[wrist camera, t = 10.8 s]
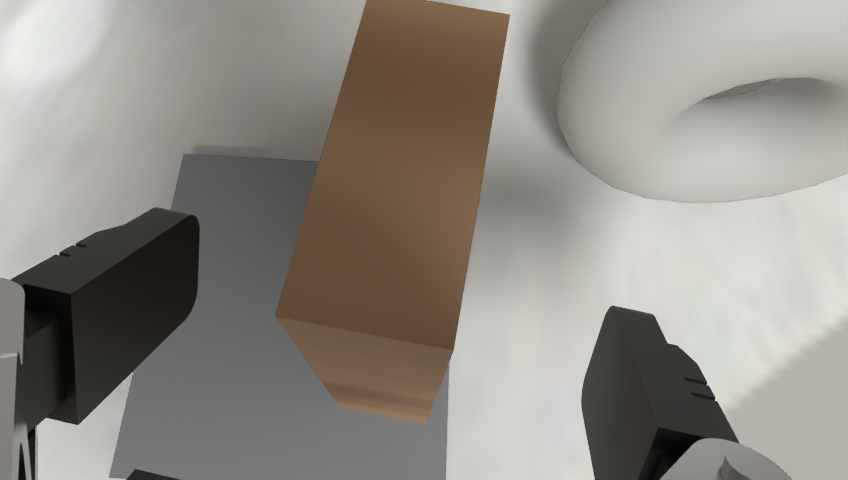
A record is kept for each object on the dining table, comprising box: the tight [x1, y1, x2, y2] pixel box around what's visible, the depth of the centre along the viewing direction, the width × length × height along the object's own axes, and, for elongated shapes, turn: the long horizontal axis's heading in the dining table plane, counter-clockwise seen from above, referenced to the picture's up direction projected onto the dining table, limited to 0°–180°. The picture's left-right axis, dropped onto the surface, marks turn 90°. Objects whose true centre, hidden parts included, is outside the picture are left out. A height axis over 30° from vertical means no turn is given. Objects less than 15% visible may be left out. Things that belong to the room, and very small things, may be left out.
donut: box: [556, 0, 848, 203], centre depth 16 cm, size 10×3×10 cm, turn 88°
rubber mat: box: [109, 154, 449, 480], centre depth 18 cm, size 9×10×1 cm
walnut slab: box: [275, 0, 510, 424], centre depth 14 cm, size 6×2×10 cm, turn 169°
